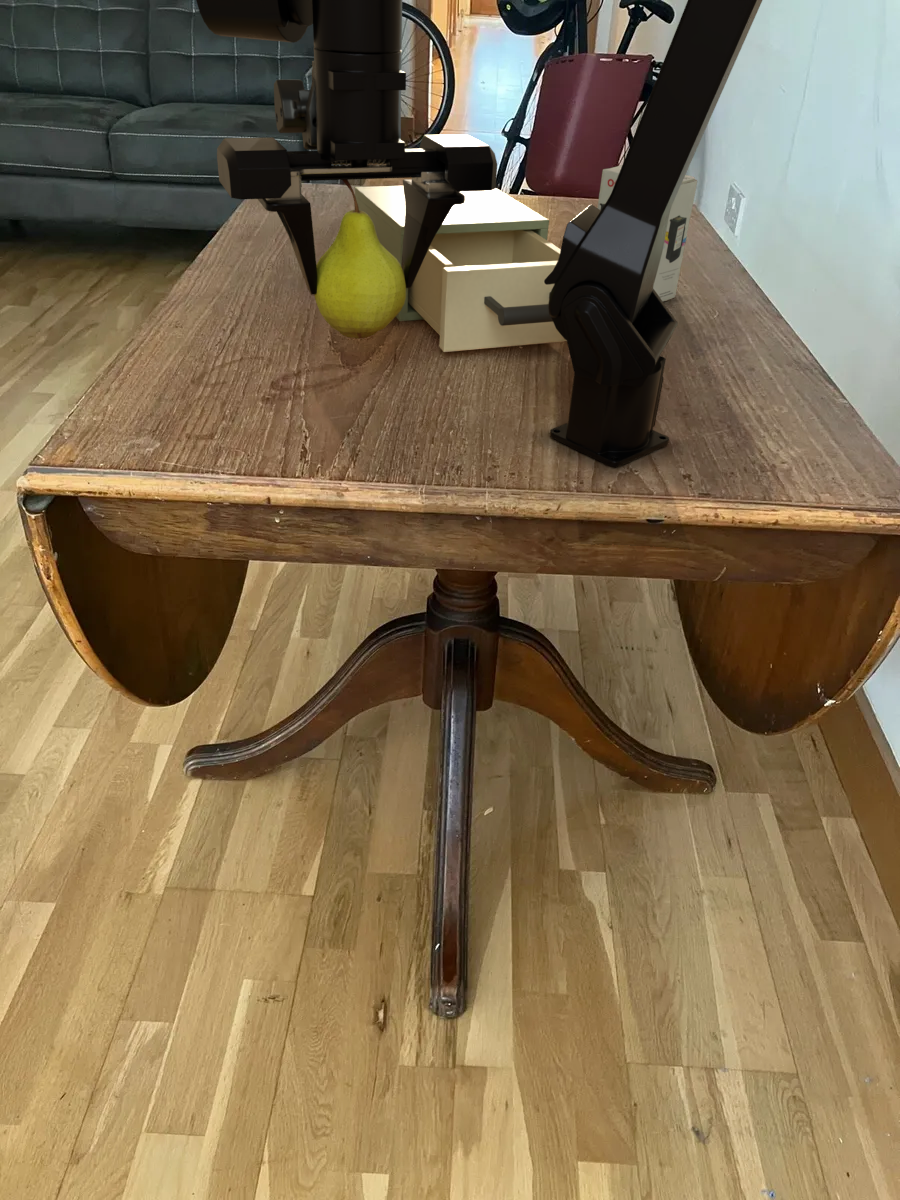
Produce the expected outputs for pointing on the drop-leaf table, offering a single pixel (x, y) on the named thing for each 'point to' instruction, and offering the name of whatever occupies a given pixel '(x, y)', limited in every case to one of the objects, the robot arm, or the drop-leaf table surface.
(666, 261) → the ink box
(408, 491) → the drop-leaf table surface
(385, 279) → the fruit
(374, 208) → the cabinet
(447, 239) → the drawer
